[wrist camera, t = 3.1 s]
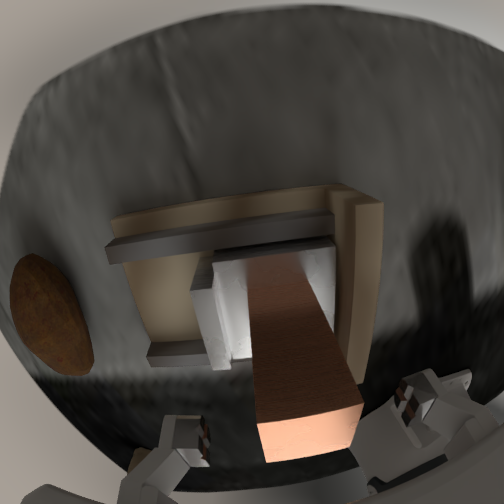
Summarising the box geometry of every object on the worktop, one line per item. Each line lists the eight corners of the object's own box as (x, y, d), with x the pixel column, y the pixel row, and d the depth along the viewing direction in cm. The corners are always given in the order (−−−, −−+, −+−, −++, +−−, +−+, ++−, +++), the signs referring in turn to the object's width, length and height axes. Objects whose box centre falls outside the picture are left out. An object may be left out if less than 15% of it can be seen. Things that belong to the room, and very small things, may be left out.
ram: (321, 231, 18) (421, 351, 7) (322, 321, 21) (375, 452, 10) (197, 247, 18) (150, 394, 7) (218, 336, 21) (209, 478, 10)
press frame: (340, 183, 18) (383, 202, 12) (339, 332, 23) (362, 382, 17) (117, 215, 18) (73, 246, 12) (163, 354, 23) (148, 406, 17)
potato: (73, 350, 23) (46, 397, 16) (20, 252, 18) (-26, 287, 12) (121, 345, 22) (97, 400, 16) (65, 232, 18) (12, 269, 12)
